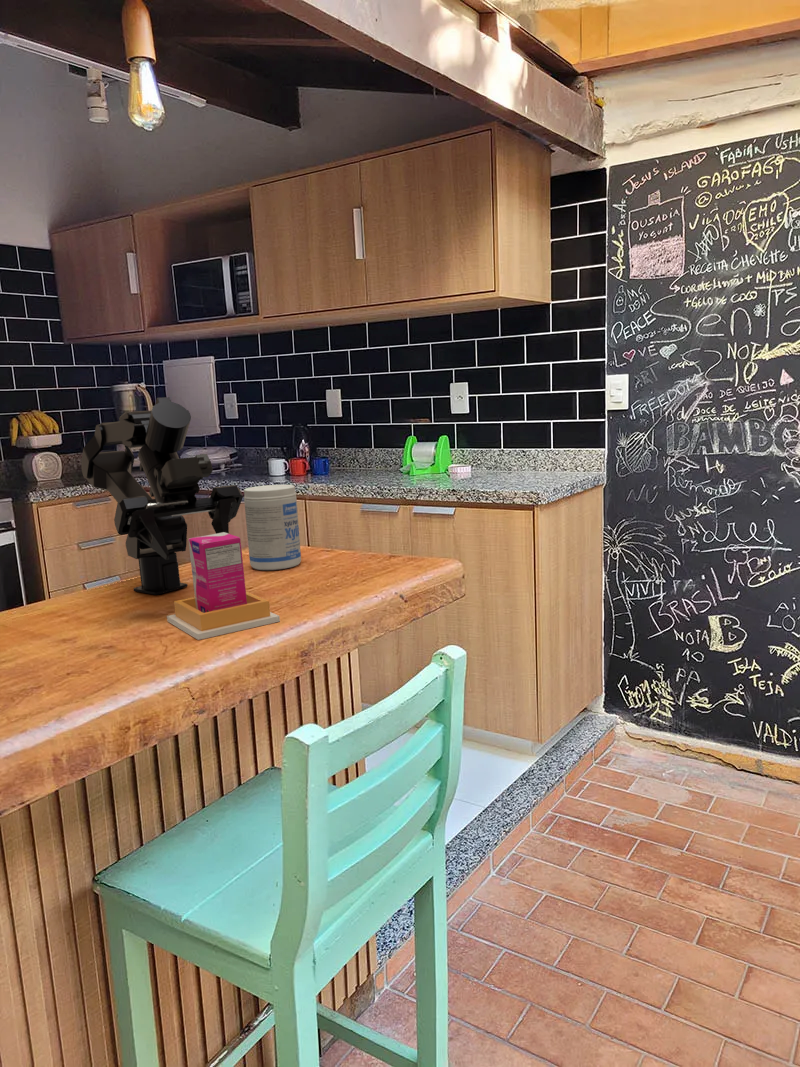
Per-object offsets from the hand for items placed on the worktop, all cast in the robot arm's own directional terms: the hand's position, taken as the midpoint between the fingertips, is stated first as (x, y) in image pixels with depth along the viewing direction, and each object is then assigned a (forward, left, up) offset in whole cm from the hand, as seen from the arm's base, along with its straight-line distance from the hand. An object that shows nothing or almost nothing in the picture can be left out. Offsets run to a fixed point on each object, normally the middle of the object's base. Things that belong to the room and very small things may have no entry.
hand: (198, 552), depth 120 cm
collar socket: (+7, -2, -9) cm, 11 cm away
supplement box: (+7, -2, -8) cm, 11 cm away
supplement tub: (-13, +28, -9) cm, 32 cm away
